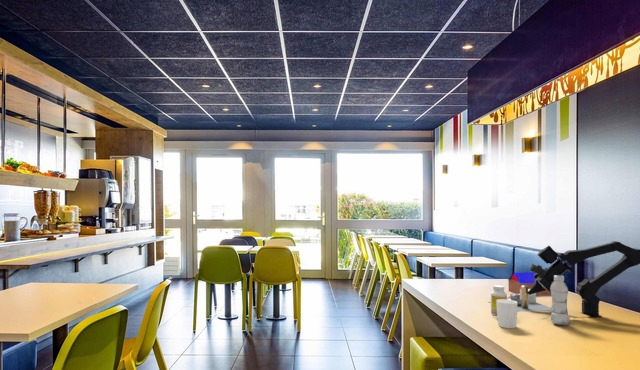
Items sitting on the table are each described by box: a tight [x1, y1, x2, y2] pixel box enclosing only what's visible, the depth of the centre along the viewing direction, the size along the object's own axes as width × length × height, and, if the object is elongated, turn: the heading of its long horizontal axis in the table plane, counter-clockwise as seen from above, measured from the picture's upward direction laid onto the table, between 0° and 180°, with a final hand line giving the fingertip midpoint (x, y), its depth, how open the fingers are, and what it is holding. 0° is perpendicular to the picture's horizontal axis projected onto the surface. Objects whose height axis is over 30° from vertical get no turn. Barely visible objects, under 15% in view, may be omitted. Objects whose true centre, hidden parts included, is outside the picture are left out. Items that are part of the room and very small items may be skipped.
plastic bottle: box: [550, 274, 570, 326], centre depth 176 cm, size 6×7×20 cm
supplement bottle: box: [490, 284, 508, 317], centre depth 191 cm, size 7×7×13 cm
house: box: [507, 271, 552, 296], centre depth 243 cm, size 12×20×12 cm, turn 98°
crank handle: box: [507, 285, 528, 308], centre depth 206 cm, size 15×9×10 cm, turn 6°
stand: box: [488, 289, 552, 313], centre depth 205 cm, size 20×24×7 cm
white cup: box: [496, 299, 518, 329], centre depth 174 cm, size 8×8×10 cm
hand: (528, 293), depth 200 cm, fingers closed, pressing on crank handle
